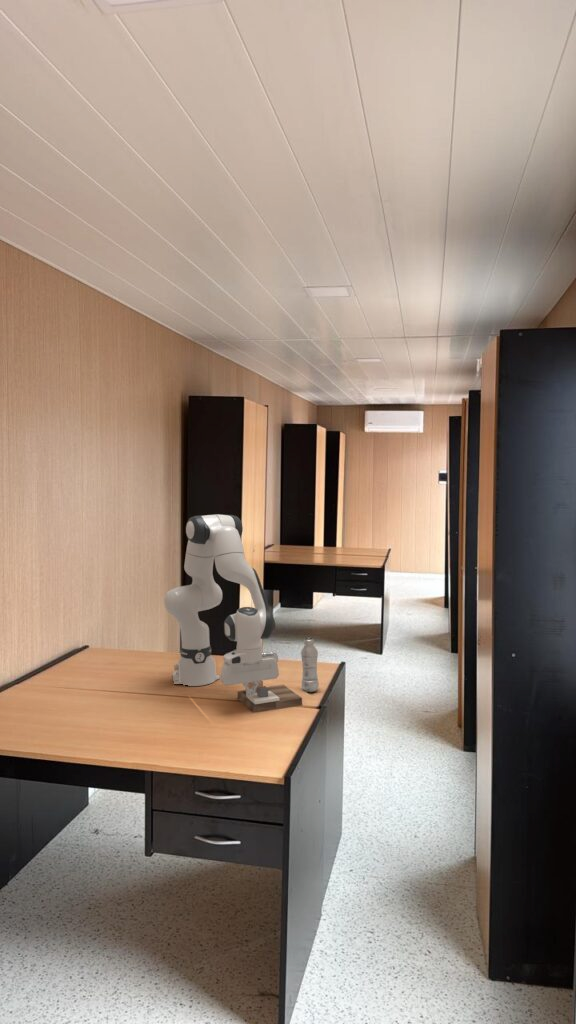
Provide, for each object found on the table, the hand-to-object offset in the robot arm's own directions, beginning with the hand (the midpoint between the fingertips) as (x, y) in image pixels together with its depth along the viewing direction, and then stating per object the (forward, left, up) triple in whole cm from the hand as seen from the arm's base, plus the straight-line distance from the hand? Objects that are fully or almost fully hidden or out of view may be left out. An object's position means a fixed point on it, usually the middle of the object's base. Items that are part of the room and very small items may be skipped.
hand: (250, 694), depth 260 cm
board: (-5, +8, -6) cm, 11 cm away
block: (-9, +4, -5) cm, 11 cm away
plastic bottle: (-12, +27, -6) cm, 30 cm away
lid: (0, +4, -2) cm, 5 cm away
